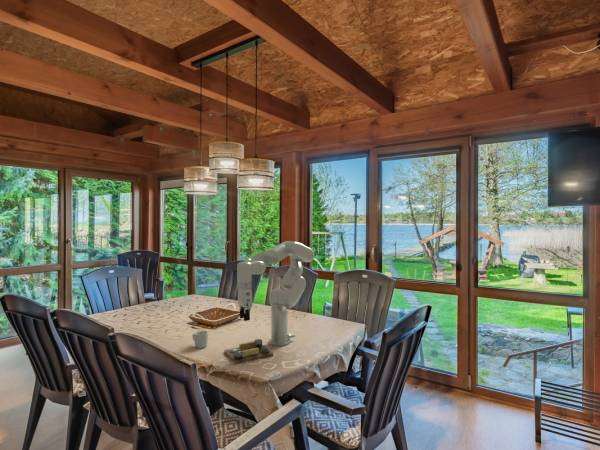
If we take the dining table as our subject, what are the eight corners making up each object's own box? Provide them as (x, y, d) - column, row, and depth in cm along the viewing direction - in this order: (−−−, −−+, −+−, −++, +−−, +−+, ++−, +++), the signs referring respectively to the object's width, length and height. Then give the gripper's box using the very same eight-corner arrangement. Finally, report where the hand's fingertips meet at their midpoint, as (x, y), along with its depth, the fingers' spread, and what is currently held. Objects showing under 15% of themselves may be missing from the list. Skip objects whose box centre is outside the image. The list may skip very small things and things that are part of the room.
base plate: (259, 345, 202) (259, 339, 202) (273, 355, 187) (273, 349, 186) (224, 352, 191) (224, 346, 191) (235, 364, 176) (235, 357, 176)
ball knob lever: (260, 343, 199) (260, 338, 199) (263, 346, 195) (263, 340, 195) (238, 348, 193) (238, 342, 193) (241, 350, 189) (240, 345, 189)
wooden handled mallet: (235, 359, 177) (235, 353, 177) (232, 356, 181) (232, 351, 181) (259, 354, 183) (259, 348, 183) (256, 351, 187) (256, 346, 187)
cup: (187, 346, 201) (187, 332, 201) (198, 342, 208) (198, 328, 207) (200, 350, 195) (200, 336, 195) (211, 346, 202) (211, 332, 201)
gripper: (257, 287, 182) (257, 322, 182) (245, 282, 197) (245, 314, 197) (243, 288, 178) (243, 324, 178) (232, 283, 193) (232, 316, 193)
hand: (244, 318), depth 188 cm, fingers open, 5 cm apart
